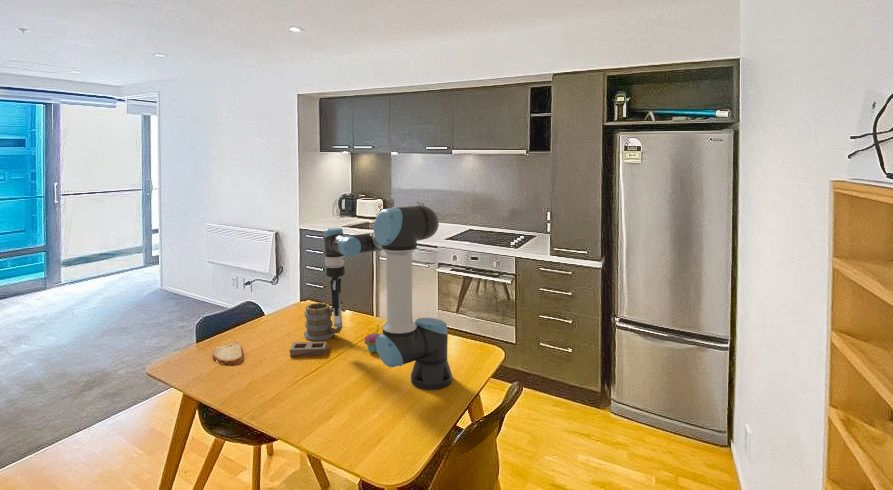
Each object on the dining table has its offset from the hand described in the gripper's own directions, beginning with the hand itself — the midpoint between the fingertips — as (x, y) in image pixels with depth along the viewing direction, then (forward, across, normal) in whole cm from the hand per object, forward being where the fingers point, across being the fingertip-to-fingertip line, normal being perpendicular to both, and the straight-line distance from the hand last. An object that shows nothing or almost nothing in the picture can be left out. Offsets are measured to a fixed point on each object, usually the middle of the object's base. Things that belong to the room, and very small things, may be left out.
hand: (337, 321), depth 206 cm
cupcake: (+14, +1, -15) cm, 20 cm away
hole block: (+13, +1, +12) cm, 18 cm away
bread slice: (+13, +1, +44) cm, 46 cm away
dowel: (+2, 0, 0) cm, 2 cm away
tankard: (+13, +19, +8) cm, 24 cm away
